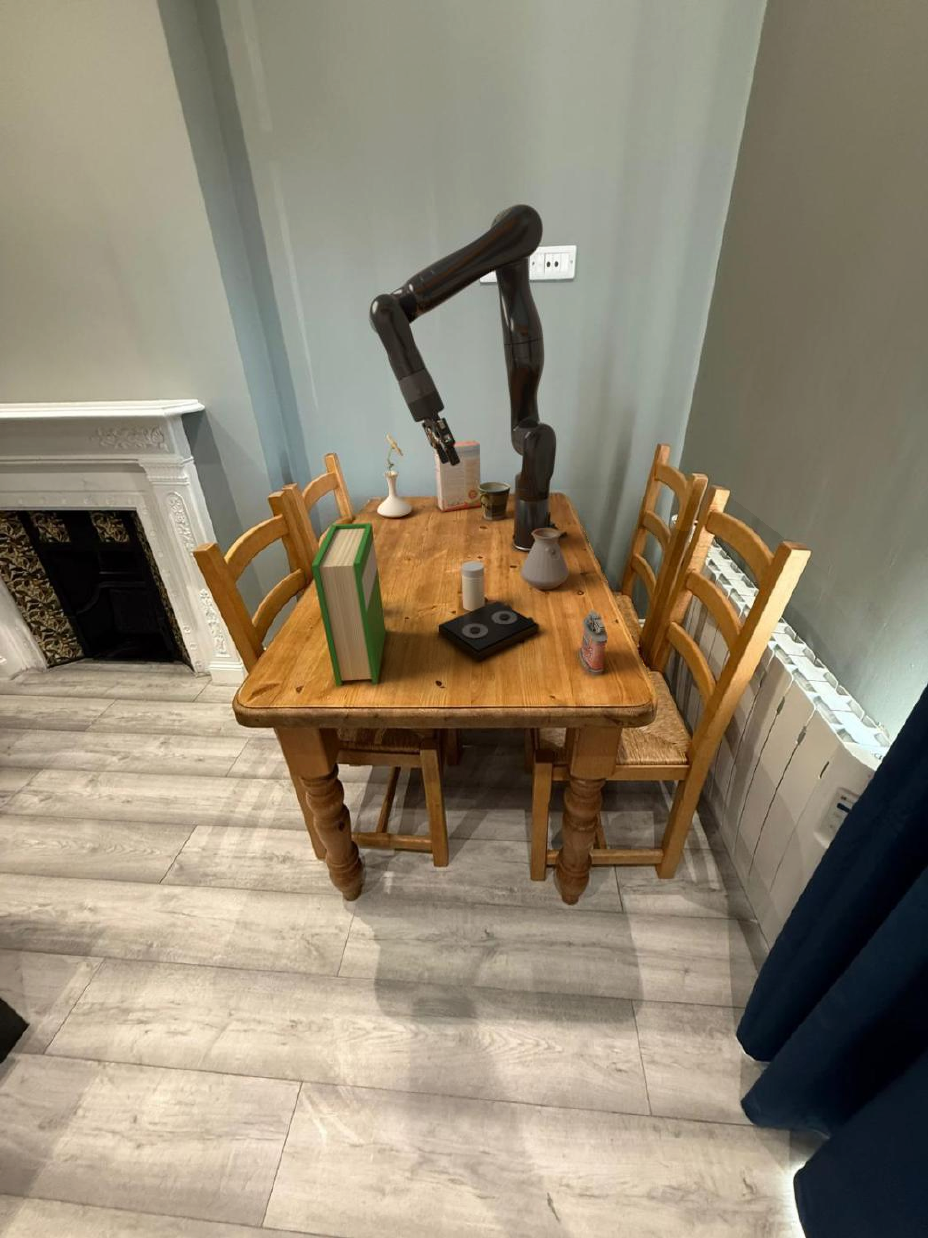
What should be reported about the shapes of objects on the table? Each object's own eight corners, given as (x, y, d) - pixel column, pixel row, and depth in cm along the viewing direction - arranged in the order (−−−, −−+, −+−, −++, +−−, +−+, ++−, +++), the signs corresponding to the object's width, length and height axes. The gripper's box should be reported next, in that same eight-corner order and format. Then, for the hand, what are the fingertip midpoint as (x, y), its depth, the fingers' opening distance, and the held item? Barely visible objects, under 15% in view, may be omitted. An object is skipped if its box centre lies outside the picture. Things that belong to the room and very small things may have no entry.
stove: (500, 607, 113) (500, 596, 112) (541, 631, 104) (542, 619, 103) (438, 634, 105) (437, 622, 103) (477, 662, 96) (477, 650, 94)
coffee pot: (519, 571, 128) (520, 515, 120) (564, 571, 127) (569, 514, 120) (523, 615, 110) (525, 552, 102) (576, 615, 109) (583, 551, 101)
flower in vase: (410, 520, 163) (403, 439, 150) (375, 520, 163) (365, 440, 150) (414, 506, 174) (407, 430, 161) (381, 507, 174) (372, 431, 161)
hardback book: (377, 683, 91) (359, 563, 79) (336, 685, 91) (311, 565, 78) (385, 631, 106) (371, 522, 94) (350, 632, 106) (331, 524, 94)
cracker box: (475, 501, 177) (474, 439, 166) (481, 506, 172) (480, 443, 161) (437, 506, 173) (433, 443, 162) (442, 512, 168) (438, 447, 157)
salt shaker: (475, 598, 117) (474, 558, 112) (489, 606, 114) (489, 566, 109) (458, 605, 115) (456, 565, 110) (471, 613, 111) (470, 573, 106)
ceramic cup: (489, 509, 169) (489, 480, 164) (515, 515, 164) (516, 484, 158) (467, 521, 160) (466, 490, 155) (493, 527, 155) (493, 495, 150)
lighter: (576, 650, 98) (580, 606, 93) (593, 649, 98) (598, 604, 93) (588, 675, 91) (594, 629, 86) (606, 674, 91) (613, 627, 86)
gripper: (443, 384, 106) (474, 457, 113) (428, 389, 119) (456, 454, 126) (412, 400, 105) (445, 472, 112) (400, 404, 118) (430, 468, 125)
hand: (451, 463), depth 119 cm, fingers open, 8 cm apart
